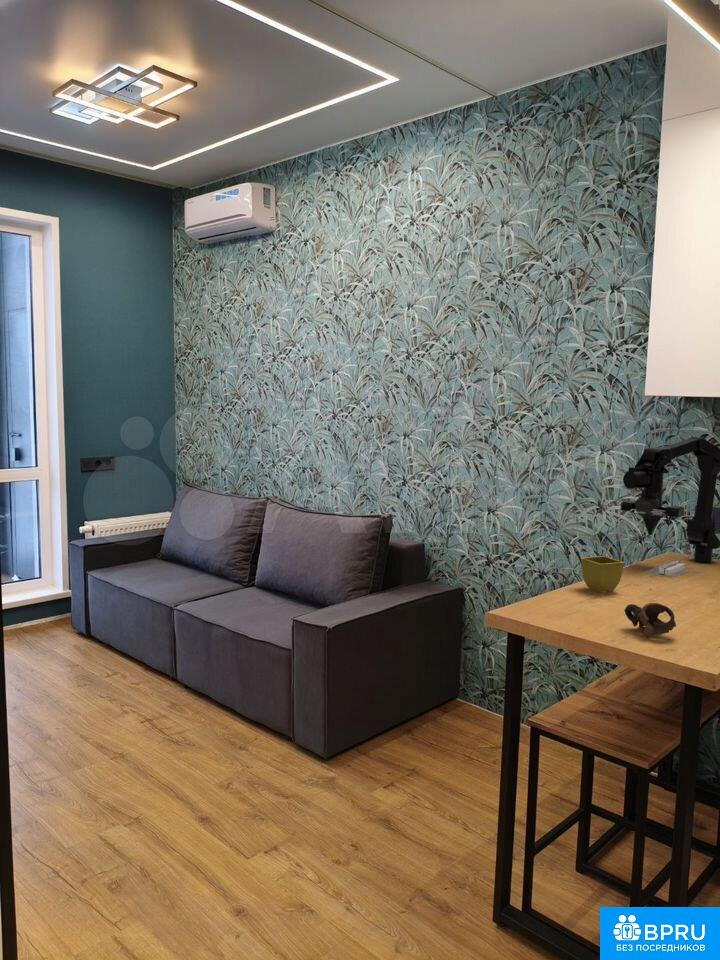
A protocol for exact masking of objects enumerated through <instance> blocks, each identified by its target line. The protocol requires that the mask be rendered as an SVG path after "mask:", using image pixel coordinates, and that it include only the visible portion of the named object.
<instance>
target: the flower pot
mask: <svg viewBox="0 0 720 960" xmlns="http://www.w3.org/2000/svg"><path fill="white" fill-rule="evenodd" d="M580 562H581V573H582V578H583V580H584V583H585V585H586V587H587V588H588V589H589V590H593V591H595V592H597V593H607V592H613V591H615V590H616V588H617V587H618V585H620V584H619V583H620V582H621V579H622V576H623V572H624V570H623V569H624V565H625V561H622V560H619V559H614V558H611V557H608V556H605V555H603V556H602V555H601V556H600V555H599V556H588V557H587V556H586V557H580Z"/></svg>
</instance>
